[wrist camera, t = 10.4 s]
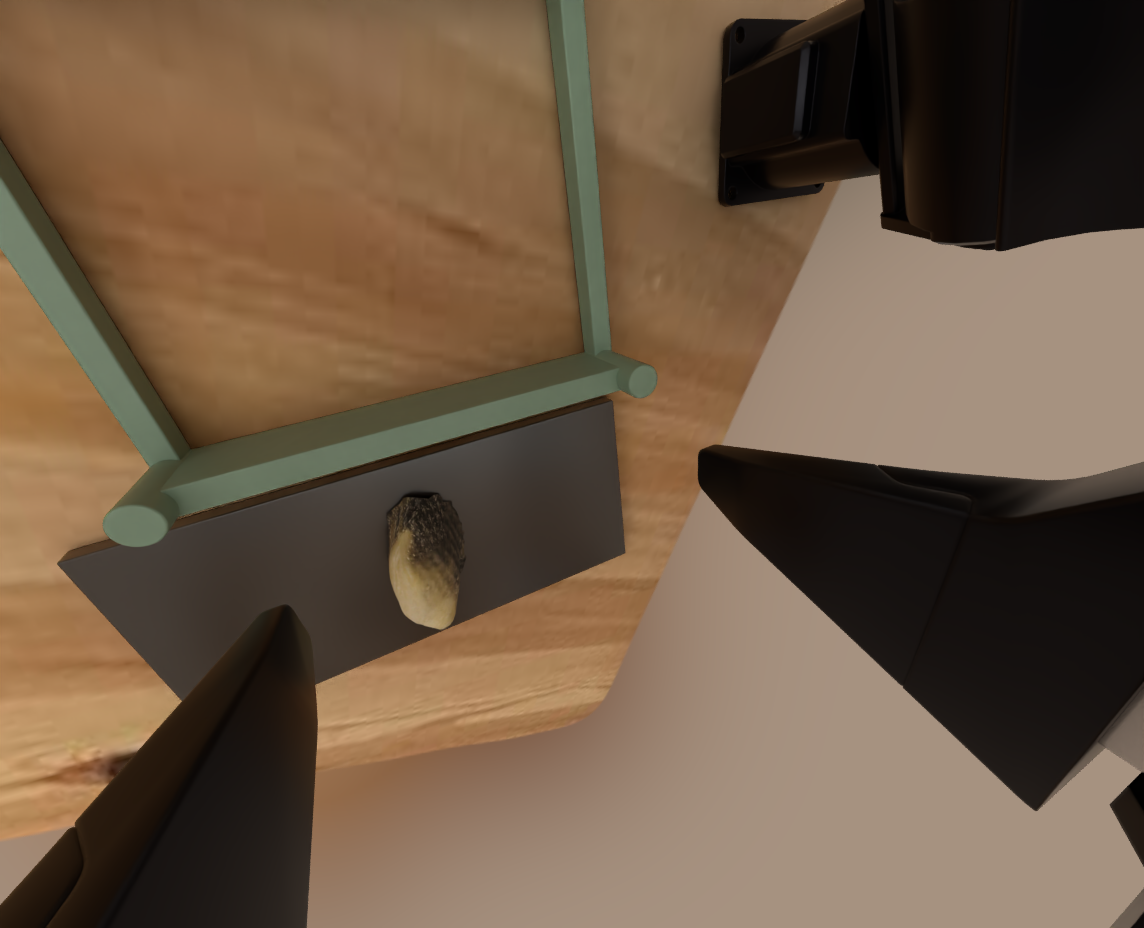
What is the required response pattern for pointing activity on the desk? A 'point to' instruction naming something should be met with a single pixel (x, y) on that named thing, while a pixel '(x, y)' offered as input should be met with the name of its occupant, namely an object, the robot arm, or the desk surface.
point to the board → (365, 547)
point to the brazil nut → (426, 559)
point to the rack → (340, 441)
